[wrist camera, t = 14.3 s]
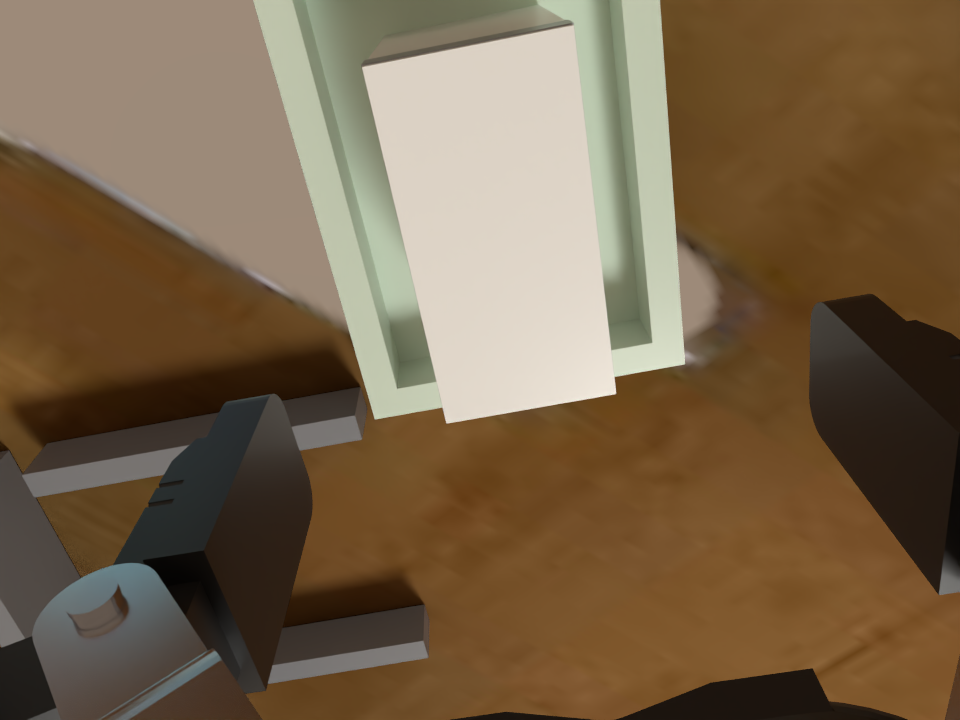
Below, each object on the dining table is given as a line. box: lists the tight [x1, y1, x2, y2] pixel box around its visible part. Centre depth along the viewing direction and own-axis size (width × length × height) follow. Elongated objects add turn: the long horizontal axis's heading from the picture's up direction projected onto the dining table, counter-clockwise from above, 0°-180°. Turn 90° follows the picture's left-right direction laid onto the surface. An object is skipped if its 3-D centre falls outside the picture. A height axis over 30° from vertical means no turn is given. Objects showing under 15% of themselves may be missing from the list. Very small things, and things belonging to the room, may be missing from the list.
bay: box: [0, 387, 429, 684], centre depth 30 cm, size 14×12×4 cm
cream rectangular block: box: [361, 5, 616, 423], centre depth 22 cm, size 5×9×7 cm, turn 10°
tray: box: [253, 0, 685, 419], centre depth 24 cm, size 10×14×2 cm
